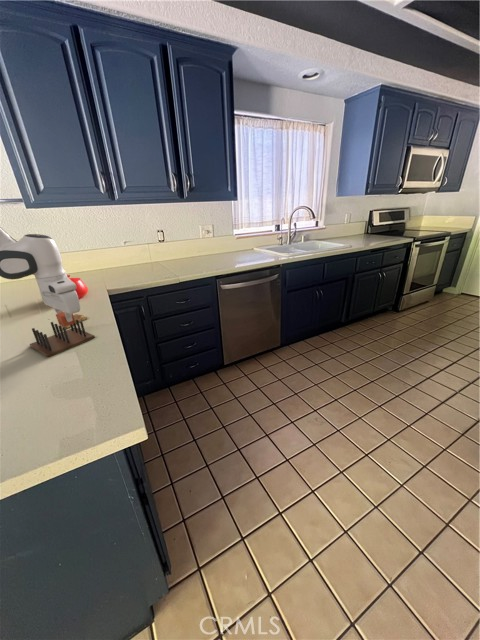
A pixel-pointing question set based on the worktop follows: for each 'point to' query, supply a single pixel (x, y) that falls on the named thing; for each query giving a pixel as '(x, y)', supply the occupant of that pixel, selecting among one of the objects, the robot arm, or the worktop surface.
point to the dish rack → (60, 339)
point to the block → (62, 319)
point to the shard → (78, 318)
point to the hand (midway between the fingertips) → (65, 319)
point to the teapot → (79, 287)
